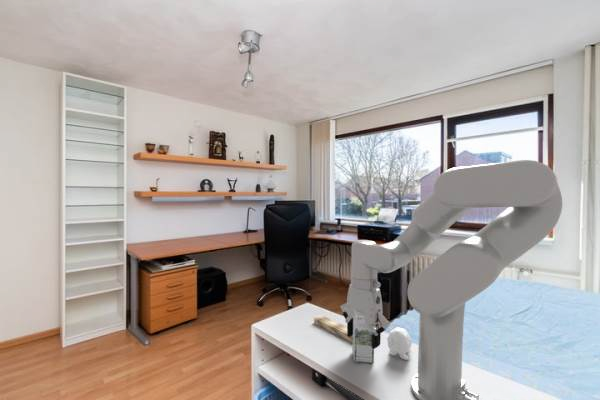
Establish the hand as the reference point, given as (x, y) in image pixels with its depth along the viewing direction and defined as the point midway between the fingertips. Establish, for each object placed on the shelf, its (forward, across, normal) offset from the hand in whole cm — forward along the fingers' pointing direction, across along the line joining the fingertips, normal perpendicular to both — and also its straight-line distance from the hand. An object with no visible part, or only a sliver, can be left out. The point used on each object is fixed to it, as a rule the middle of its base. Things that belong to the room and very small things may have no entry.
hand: (363, 340), depth 82 cm
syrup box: (+5, 0, 0) cm, 5 cm away
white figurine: (+6, -6, -12) cm, 14 cm away
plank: (+5, +14, -7) cm, 17 cm away
